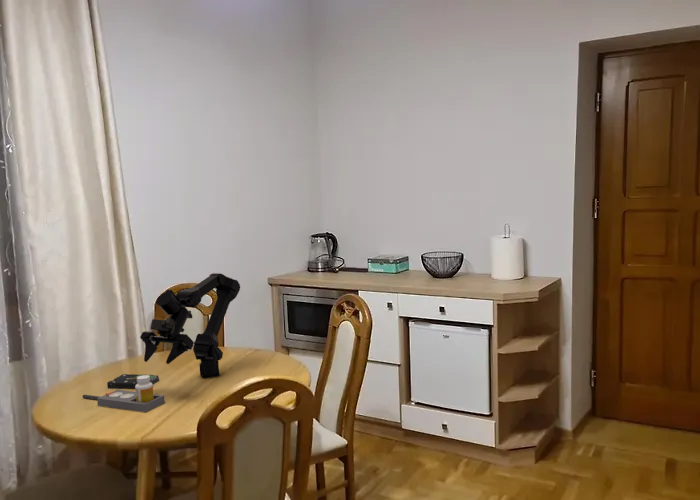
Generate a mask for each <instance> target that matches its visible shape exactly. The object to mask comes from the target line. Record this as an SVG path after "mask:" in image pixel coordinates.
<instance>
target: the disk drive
mask: <svg viewBox="0 0 700 500" xmlns="http://www.w3.org/2000/svg"><path fill="white" fill-rule="evenodd" d="M143 375H144V374H127V373H126V374H124V373H123V374H121V375H119V376H117V377H115V378H113V380H109V381H107V382H106V384H107V389H109V390H110V389H112V390H114V389H116V390H135V386H136V384H138V382H137V377H139V376H143ZM147 375H148V376H150V381H149V382H151V383H152V384H153V385H155V384H156V383H158V382H159V381H160V377H159V375H156V374H155V375H154V374H147Z"/></svg>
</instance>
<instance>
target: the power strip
mask: <svg viewBox="0 0 700 500" xmlns="http://www.w3.org/2000/svg"><path fill="white" fill-rule="evenodd" d="M153 395H154V400H151V401H149V402H147V403H141V402H136V391H130V390H125V389H116V390H110V391H108V392H106V393H105V394H104V395H102V396H98V395H91V394H83V395H82V398H83V399H87V400H95V401H97V406H99V407H104V408H110V409H111V408H112V409H117V410H118V409H119V410H127V411H133V412H134V411H135V412H142V413H147V412H149V411H151V410H153V409H156V408H158V407H160V406H161V405H164V404H165V401H166V399H165V395H163V394H155V393H153Z"/></svg>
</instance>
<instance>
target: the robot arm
mask: <svg viewBox="0 0 700 500" xmlns="http://www.w3.org/2000/svg"><path fill="white" fill-rule="evenodd" d="M214 289H215V293H216V298H217V299H216V301H215V303H214V307H213V309H212V311H211V314H210V317H209V319H208V321H207V325H206V327H205V329H204V331H203V332H202V333H197V335H196V337H195V340H193V339H191V337H190V336H189V335H188V334H187V333H185V334H184V332H185V329H184V326H185V323H186V321H187V319H193V314H192V311H191V310H188V308H191V309H192V308H193V309H194V308H196V307H198V306H199V304H200V303H201V302H202V298H203V297H204V296H206V295H207V294H209V293H210V292H212V291H213V290H214ZM240 290H241V284H240V282H239V281H238V280H237V279H233V278H232V277H228V276H226V275H225V274H223V273H215V272H213V273H211V274H209V276H208V277H205V279H204V278H203V280H201V281H200V282H199V283H196V285H194V286H193V287H189V288H185V289H181V290H179V291H178V292H177V293H176V294H175V292H174V291H173V289H166V291H165V292H163V293H161V294H160V295H159V296H158V297H157V298H156V305H157V306H158V307H159V308H160V309H161V310H162V311H163V312H164V314H166V315H168V317H167V318H166V319H164V320H163V319H152V320H151V324H150V330H155V331H156V333H157V334H158V335H157V334H156V333H155V332H154V331H142V332H141V335H140V336H139V338H140V339H141V340H142V342H143V343H144V345H145V346H144V347H145V349H144V358H143V361H144V362H145V363H147V362H148V361H149V360H150V358H152V357H153V355H154V354H155V352H156V351H157V350H158V346H159V345H160V343H166V344H172V347H171V350H170V352H169V354H168V356H167V358H166V361H165V363H166V364H167V365H170V364H171V363H172V362H173V361H174V360H176V359H177V358H179V356H181V355H182V354H184V353H185V352H188V351H189V350H190V351H191V350H193V351H192V352H193V353H194V356H195V360H200V362H199V364H198V365H199V366H198V367H199V375H200V377H201V378H202V379H208V378H216V377H220V376H221V373H220V367H219V366H220V365H219V361H221V360H222V359H223V355H224V352H223V351H222V349H221V348H220V347H219V346H220V345H219V344H220V343H219V337H218V335H219V333H220V330H221V327H222V324H223V322H224V320H225V317H226V314H227V311H228V309H229V305H230V304H231V302H233V301H234V300H235V299H236V298H237V297H238V295H239V292H240ZM159 335H160V336H159Z"/></svg>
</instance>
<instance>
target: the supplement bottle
mask: <svg viewBox="0 0 700 500" xmlns="http://www.w3.org/2000/svg"><path fill="white" fill-rule="evenodd" d="M142 375H143V376H139V377H137V382H138V384H136V386H135V389H134V390H135V391H134V392H136V402H141V403H147V402H149V401H151V400H154V395H153V394H154V386H153V385H154V384H152V383H151V382H149V381H150V376H148V375H149V374H142Z"/></svg>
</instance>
